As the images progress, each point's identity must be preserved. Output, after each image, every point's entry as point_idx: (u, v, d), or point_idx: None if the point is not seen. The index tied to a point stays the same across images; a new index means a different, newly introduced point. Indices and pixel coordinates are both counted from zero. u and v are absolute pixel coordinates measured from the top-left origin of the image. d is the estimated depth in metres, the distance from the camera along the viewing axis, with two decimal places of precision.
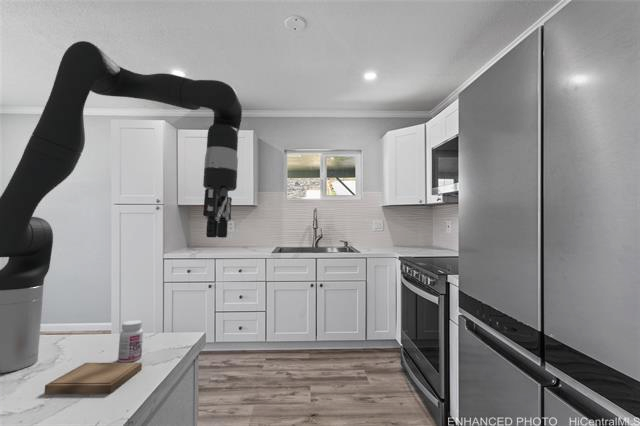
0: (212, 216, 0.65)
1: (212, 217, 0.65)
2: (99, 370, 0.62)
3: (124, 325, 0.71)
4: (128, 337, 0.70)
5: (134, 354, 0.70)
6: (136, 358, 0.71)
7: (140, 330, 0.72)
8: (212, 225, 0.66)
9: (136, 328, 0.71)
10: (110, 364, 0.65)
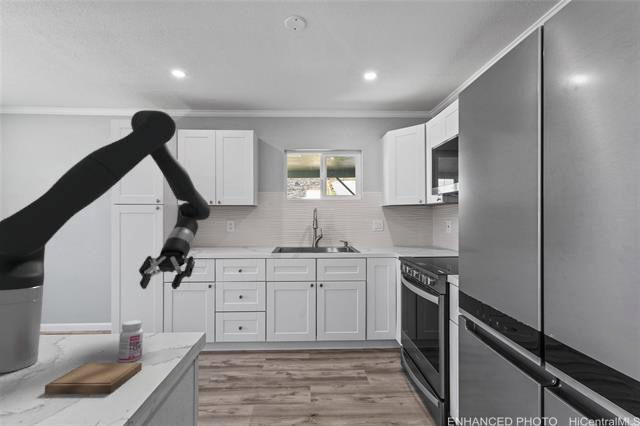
0: (187, 275, 0.88)
1: (185, 276, 0.88)
2: (99, 370, 0.62)
3: (124, 325, 0.71)
4: (128, 337, 0.70)
5: (134, 354, 0.70)
6: (136, 358, 0.71)
7: (140, 330, 0.72)
8: (180, 280, 0.87)
9: (136, 328, 0.71)
10: (110, 364, 0.65)
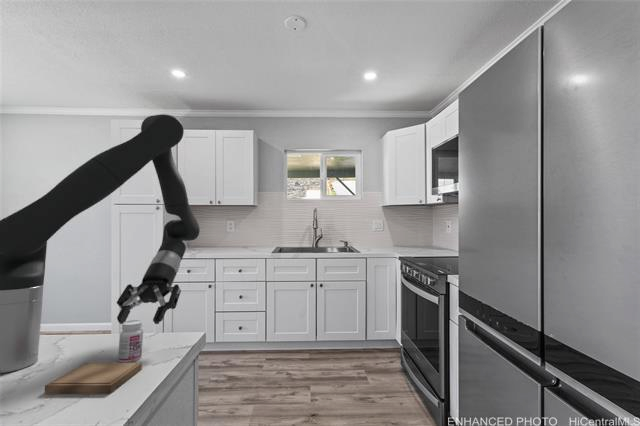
0: (172, 307, 0.79)
1: None
2: (99, 370, 0.62)
3: (124, 325, 0.71)
4: (128, 337, 0.70)
5: (134, 354, 0.70)
6: (136, 358, 0.71)
7: (140, 330, 0.72)
8: (164, 313, 0.77)
9: (136, 328, 0.71)
10: (110, 364, 0.65)
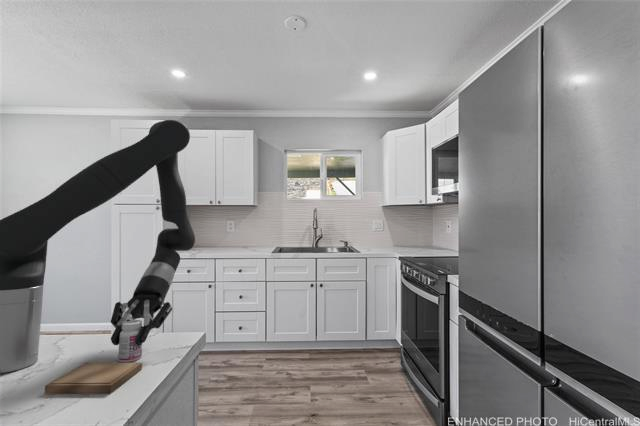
0: (156, 326, 0.74)
1: (154, 327, 0.74)
2: (99, 370, 0.62)
3: (124, 325, 0.71)
4: (128, 337, 0.70)
5: (134, 354, 0.70)
6: (136, 358, 0.71)
7: None
8: (147, 333, 0.72)
9: (136, 328, 0.71)
10: (110, 364, 0.65)
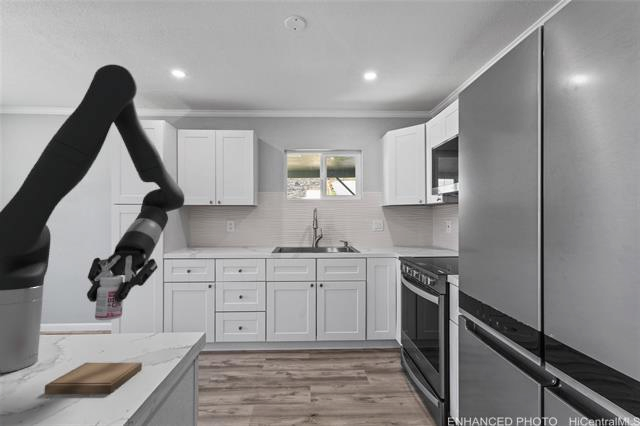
0: (139, 284, 0.67)
1: (136, 284, 0.66)
2: (99, 370, 0.62)
3: (103, 279, 0.63)
4: (107, 293, 0.63)
5: (113, 312, 0.63)
6: (115, 316, 0.63)
7: None
8: (128, 290, 0.65)
9: (116, 283, 0.64)
10: (110, 364, 0.65)
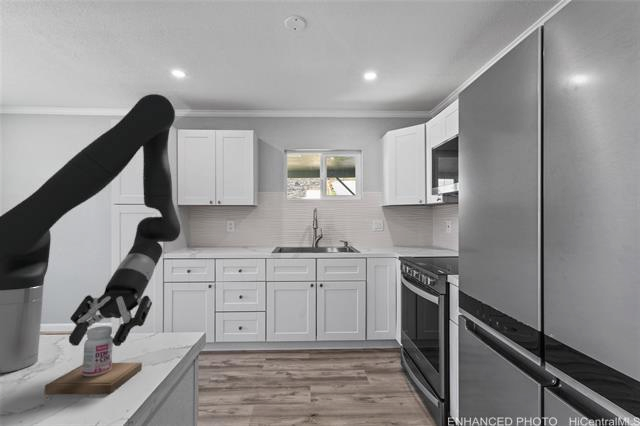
0: (138, 324, 0.64)
1: (136, 325, 0.64)
2: None
3: (90, 332, 0.60)
4: (94, 347, 0.59)
5: (102, 367, 0.60)
6: (104, 371, 0.60)
7: (109, 338, 0.62)
8: (127, 332, 0.62)
9: (104, 336, 0.61)
10: None
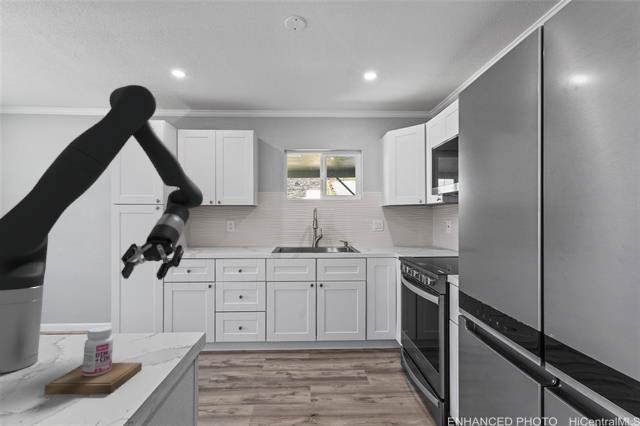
0: (175, 265, 0.80)
1: (173, 265, 0.80)
2: None
3: (90, 332, 0.60)
4: (95, 347, 0.59)
5: (102, 367, 0.60)
6: (104, 371, 0.60)
7: (109, 338, 0.62)
8: (167, 270, 0.79)
9: (104, 336, 0.61)
10: None
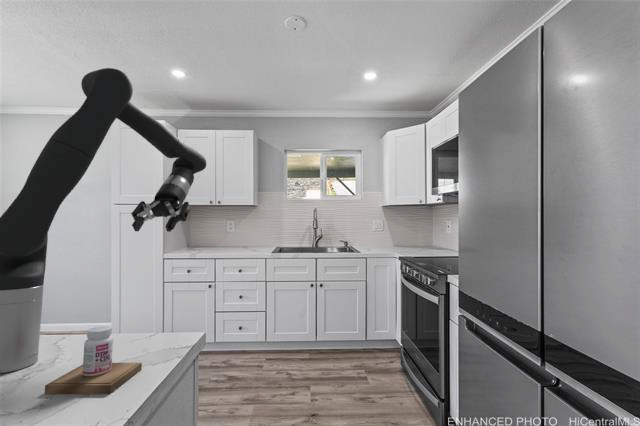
0: (182, 219, 0.85)
1: (180, 220, 0.84)
2: None
3: (90, 332, 0.60)
4: (94, 347, 0.59)
5: (102, 366, 0.60)
6: (104, 371, 0.60)
7: (109, 338, 0.62)
8: (175, 223, 0.83)
9: (104, 336, 0.61)
10: None
